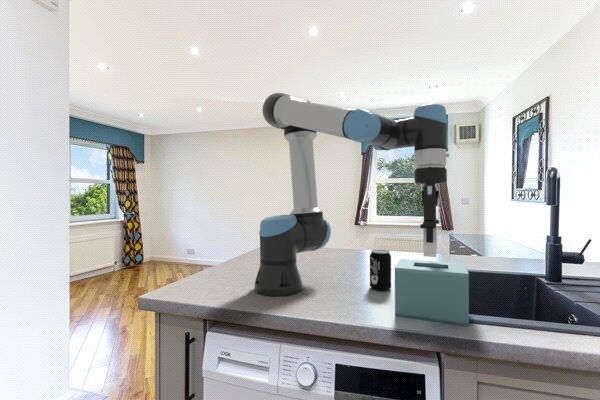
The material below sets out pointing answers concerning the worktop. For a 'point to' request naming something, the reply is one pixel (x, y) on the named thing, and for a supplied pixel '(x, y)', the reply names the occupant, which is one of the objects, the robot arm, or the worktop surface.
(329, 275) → the worktop surface
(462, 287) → the coin box
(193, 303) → the worktop surface
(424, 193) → the robot arm
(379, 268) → the beverage can
